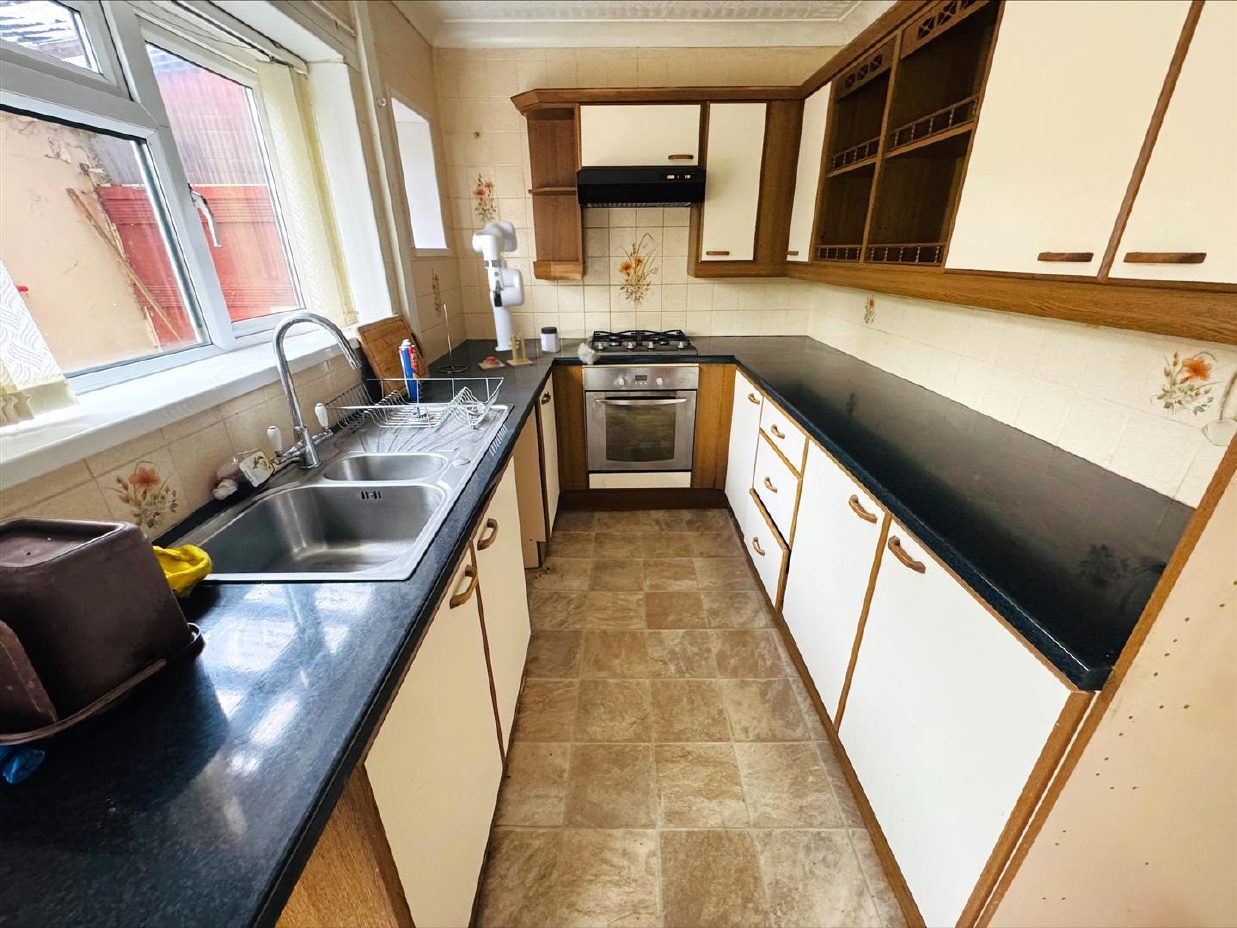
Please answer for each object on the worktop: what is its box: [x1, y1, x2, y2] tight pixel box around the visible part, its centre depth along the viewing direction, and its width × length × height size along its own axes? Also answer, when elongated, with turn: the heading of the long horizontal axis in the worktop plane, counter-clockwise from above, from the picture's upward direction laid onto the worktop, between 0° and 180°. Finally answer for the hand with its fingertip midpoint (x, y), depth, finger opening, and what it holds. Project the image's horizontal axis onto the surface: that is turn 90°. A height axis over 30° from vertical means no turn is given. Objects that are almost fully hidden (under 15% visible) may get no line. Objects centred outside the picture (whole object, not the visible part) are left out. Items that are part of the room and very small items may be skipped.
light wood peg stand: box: [506, 332, 535, 367], centre depth 235 cm, size 12×10×14 cm
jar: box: [540, 326, 560, 354], centre depth 261 cm, size 9×8×12 cm
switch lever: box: [508, 334, 521, 346], centre depth 237 cm, size 12×5×2 cm, turn 24°
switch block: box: [478, 358, 506, 370], centre depth 233 cm, size 12×10×3 cm
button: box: [485, 356, 496, 362], centre depth 232 cm, size 4×4×2 cm
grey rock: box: [577, 342, 601, 366], centre depth 232 cm, size 15×7×15 cm
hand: (498, 306), depth 237 cm, fingers closed
